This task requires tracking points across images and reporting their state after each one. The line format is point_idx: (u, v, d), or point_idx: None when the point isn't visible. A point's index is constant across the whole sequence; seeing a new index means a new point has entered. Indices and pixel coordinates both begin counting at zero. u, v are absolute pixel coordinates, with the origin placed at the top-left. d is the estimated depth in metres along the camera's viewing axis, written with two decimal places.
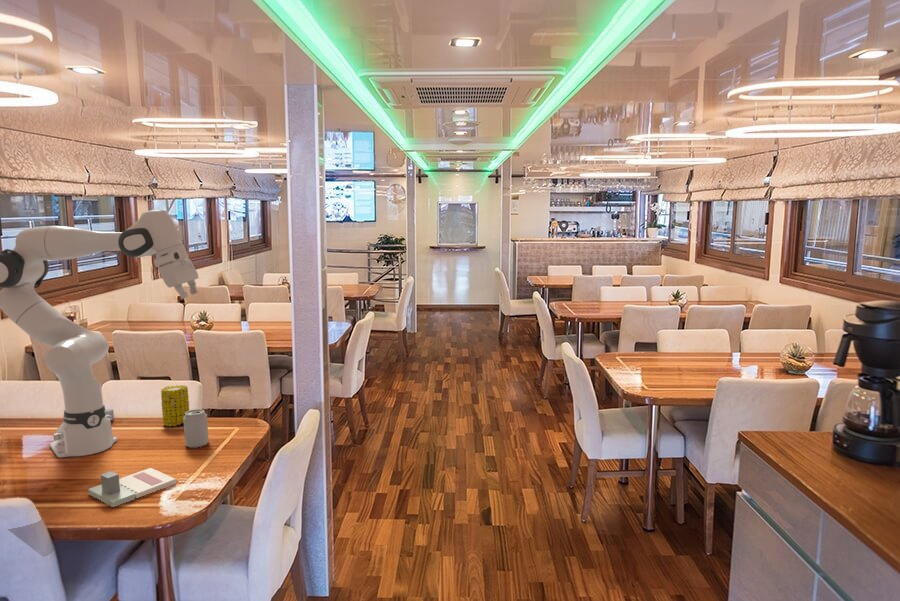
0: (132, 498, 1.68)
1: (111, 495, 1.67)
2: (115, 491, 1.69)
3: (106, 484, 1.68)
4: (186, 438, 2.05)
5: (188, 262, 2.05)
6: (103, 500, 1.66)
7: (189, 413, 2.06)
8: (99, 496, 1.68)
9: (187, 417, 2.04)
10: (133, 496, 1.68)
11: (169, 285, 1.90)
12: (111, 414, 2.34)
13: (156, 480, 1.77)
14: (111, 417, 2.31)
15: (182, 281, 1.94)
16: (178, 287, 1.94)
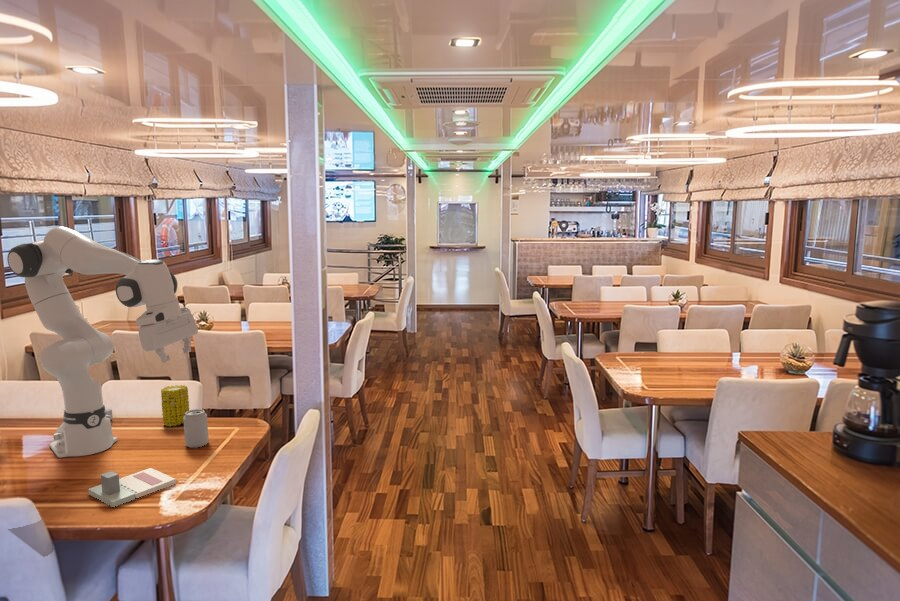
0: (132, 498, 1.68)
1: (111, 495, 1.67)
2: (115, 491, 1.69)
3: (106, 484, 1.68)
4: (186, 438, 2.05)
5: (185, 317, 1.86)
6: (103, 500, 1.66)
7: (189, 413, 2.06)
8: (99, 496, 1.68)
9: (187, 417, 2.04)
10: (133, 496, 1.68)
11: (145, 349, 1.73)
12: (110, 414, 2.34)
13: (156, 480, 1.77)
14: (110, 417, 2.31)
15: (163, 345, 1.76)
16: (158, 350, 1.76)
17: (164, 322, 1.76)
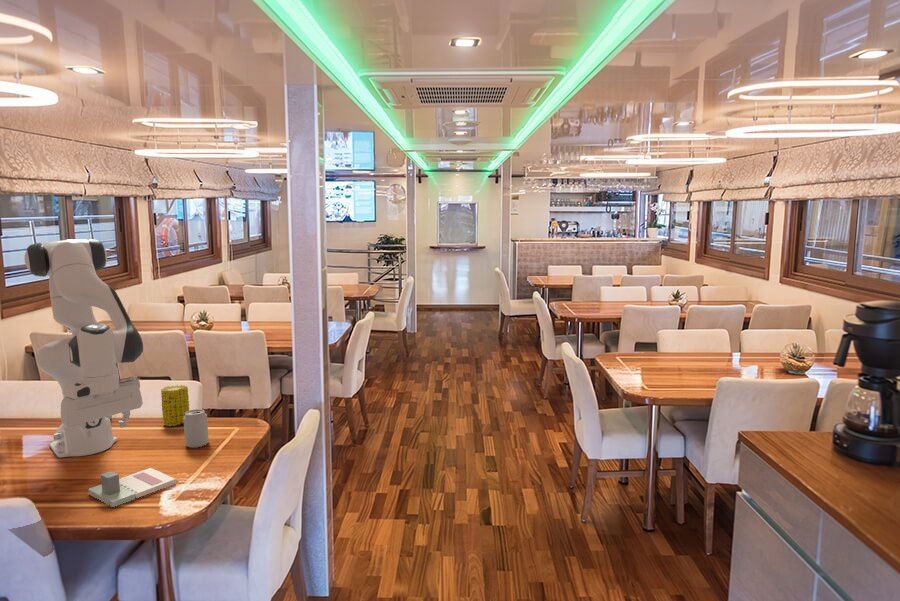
0: (132, 498, 1.68)
1: (111, 495, 1.67)
2: (115, 491, 1.69)
3: (106, 484, 1.68)
4: (186, 438, 2.05)
5: (126, 390, 1.69)
6: (103, 500, 1.66)
7: (189, 413, 2.06)
8: (99, 496, 1.68)
9: (187, 417, 2.04)
10: (133, 496, 1.68)
11: (63, 423, 1.59)
12: None
13: (156, 480, 1.77)
14: (109, 417, 2.31)
15: (84, 421, 1.61)
16: (79, 425, 1.61)
17: (90, 397, 1.61)
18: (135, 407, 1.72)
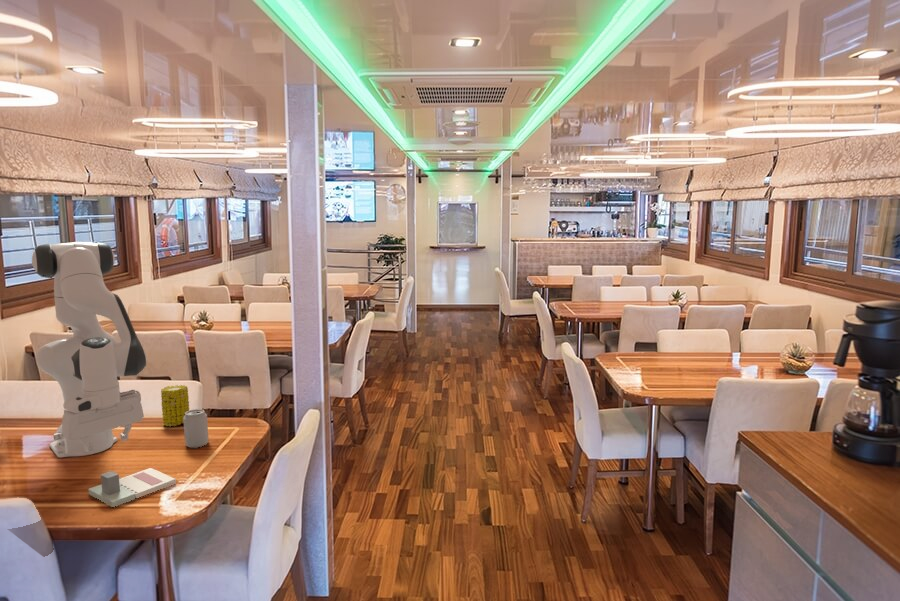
0: (132, 498, 1.68)
1: (111, 495, 1.67)
2: (115, 491, 1.69)
3: (106, 484, 1.68)
4: (186, 438, 2.05)
5: (127, 403, 1.70)
6: (103, 500, 1.66)
7: (189, 413, 2.06)
8: (99, 496, 1.68)
9: (187, 417, 2.04)
10: (133, 496, 1.68)
11: (64, 437, 1.60)
12: None
13: (156, 480, 1.77)
14: None
15: (86, 435, 1.61)
16: (81, 439, 1.62)
17: (91, 411, 1.61)
18: (136, 420, 1.72)
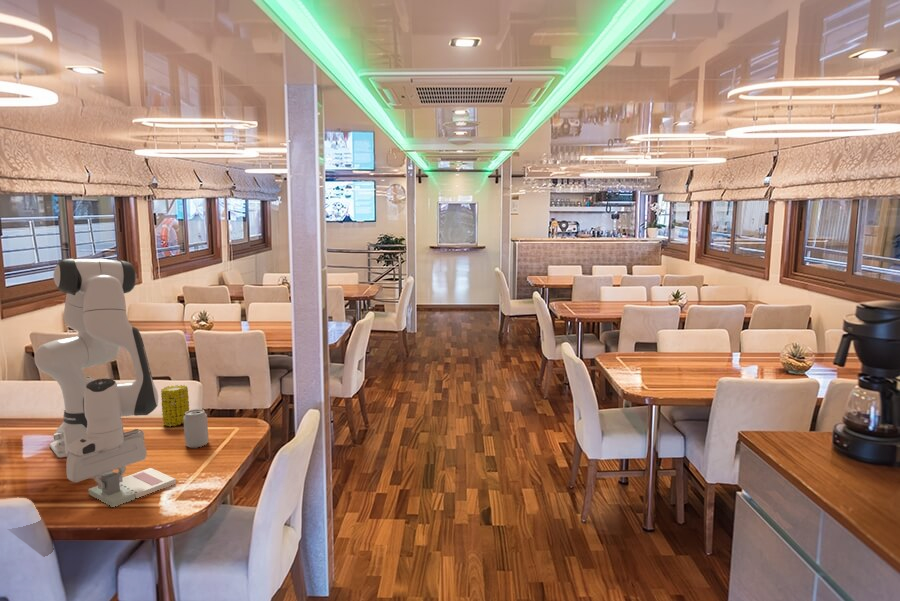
0: (132, 498, 1.68)
1: (111, 495, 1.67)
2: (115, 491, 1.69)
3: (106, 484, 1.68)
4: (186, 438, 2.05)
5: (131, 443, 1.72)
6: (103, 500, 1.66)
7: (189, 413, 2.06)
8: (99, 496, 1.68)
9: (187, 417, 2.04)
10: (133, 496, 1.68)
11: None
12: None
13: (156, 480, 1.77)
14: None
15: (89, 476, 1.63)
16: (94, 477, 1.66)
17: (95, 453, 1.63)
18: (139, 459, 1.74)
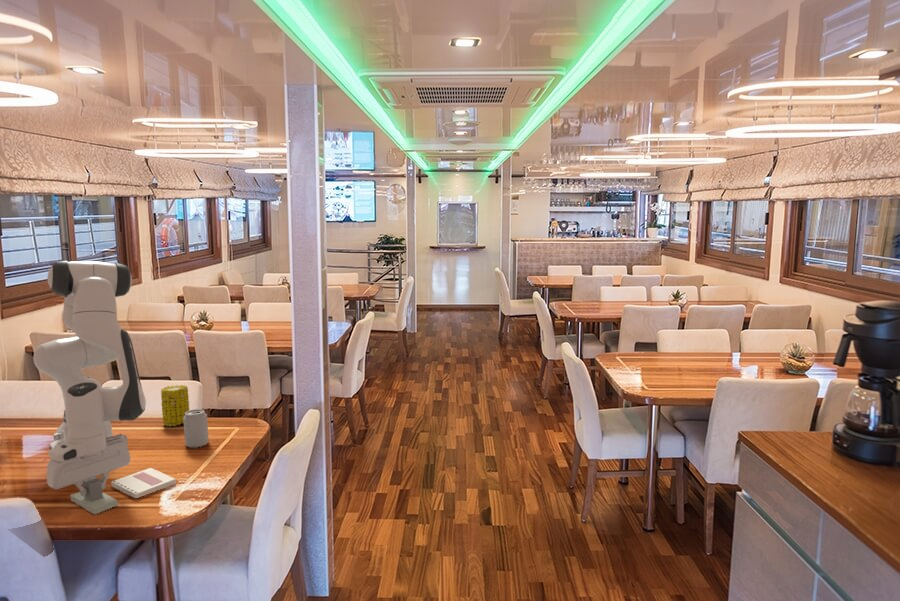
0: (115, 505, 1.64)
1: (93, 502, 1.64)
2: (97, 497, 1.65)
3: (88, 491, 1.64)
4: (186, 438, 2.05)
5: (114, 449, 1.68)
6: (85, 507, 1.63)
7: (189, 413, 2.06)
8: (81, 503, 1.64)
9: (187, 417, 2.04)
10: (116, 502, 1.64)
11: (49, 485, 1.58)
12: None
13: (156, 480, 1.77)
14: None
15: (71, 483, 1.59)
16: (76, 483, 1.62)
17: (76, 459, 1.59)
18: (123, 465, 1.70)
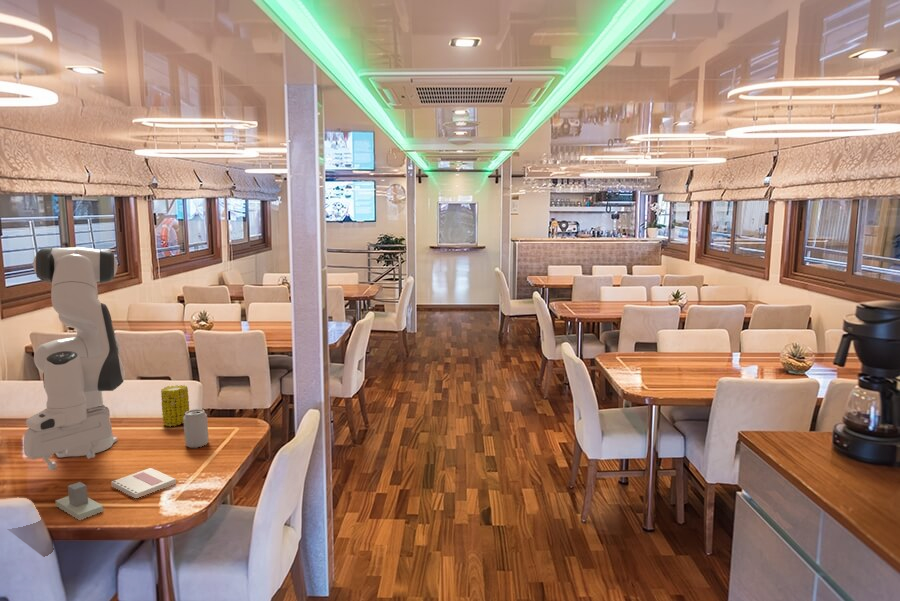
0: (100, 510, 1.61)
1: (78, 507, 1.60)
2: (83, 503, 1.62)
3: (73, 496, 1.61)
4: (186, 438, 2.05)
5: (94, 420, 1.63)
6: (70, 512, 1.60)
7: (189, 413, 2.06)
8: (66, 508, 1.61)
9: (187, 417, 2.04)
10: (102, 508, 1.61)
11: (26, 455, 1.53)
12: None
13: (156, 480, 1.77)
14: None
15: (49, 453, 1.55)
16: (43, 457, 1.56)
17: (55, 429, 1.55)
18: (104, 437, 1.66)
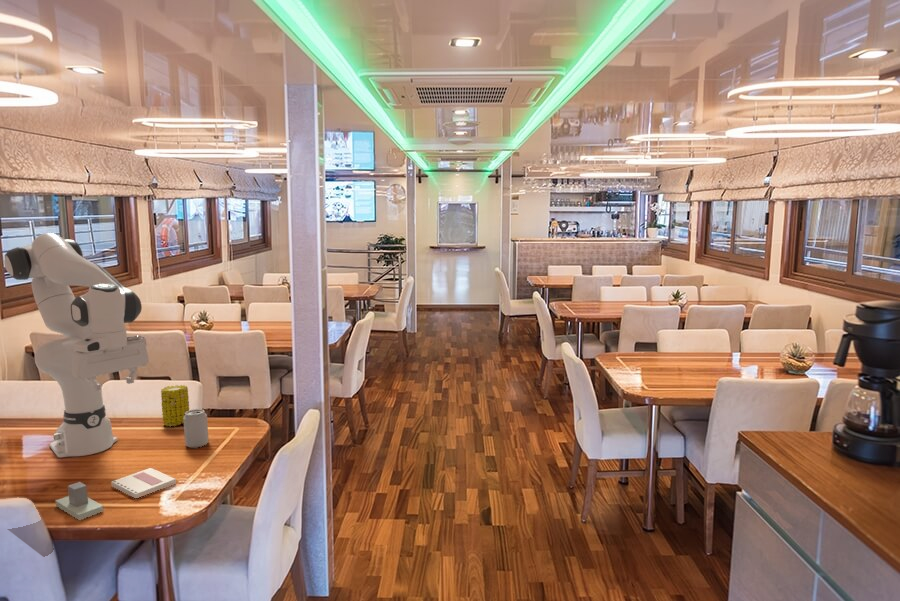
0: (100, 510, 1.61)
1: (78, 507, 1.60)
2: (83, 503, 1.62)
3: (73, 496, 1.61)
4: (186, 438, 2.05)
5: (133, 348, 1.78)
6: (70, 512, 1.60)
7: (189, 413, 2.06)
8: (66, 508, 1.61)
9: (187, 417, 2.04)
10: (102, 508, 1.61)
11: (74, 376, 1.68)
12: None
13: (156, 480, 1.77)
14: None
15: (94, 374, 1.70)
16: (89, 379, 1.70)
17: (99, 352, 1.69)
18: (142, 364, 1.81)
